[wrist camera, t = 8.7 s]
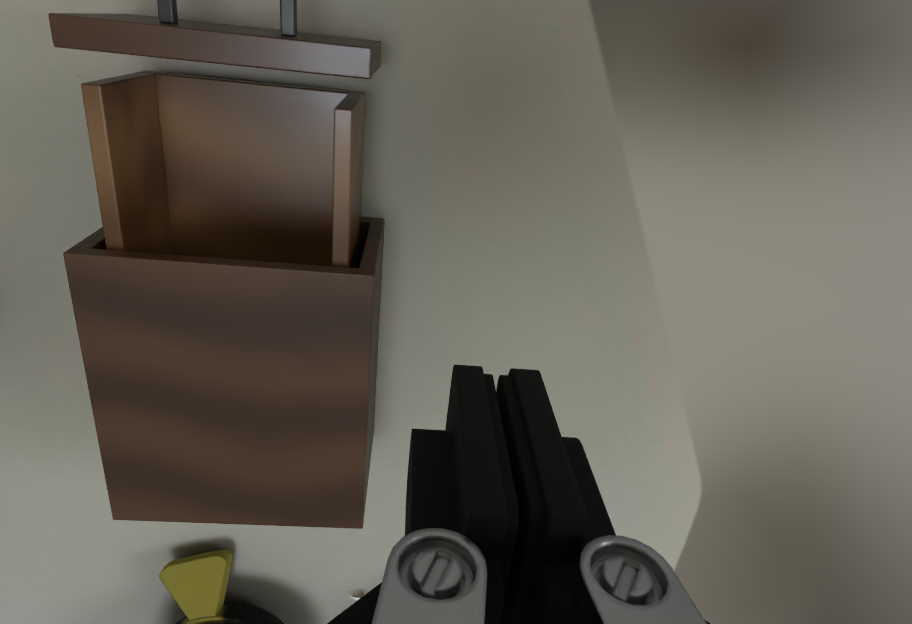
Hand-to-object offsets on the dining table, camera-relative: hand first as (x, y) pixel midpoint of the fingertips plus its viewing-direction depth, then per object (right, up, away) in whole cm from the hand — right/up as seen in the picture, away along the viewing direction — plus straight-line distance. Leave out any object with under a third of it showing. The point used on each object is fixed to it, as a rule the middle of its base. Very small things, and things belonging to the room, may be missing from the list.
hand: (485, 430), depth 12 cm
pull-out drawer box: (-11, +13, +20) cm, 26 cm away
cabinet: (-12, +1, +26) cm, 29 cm away
